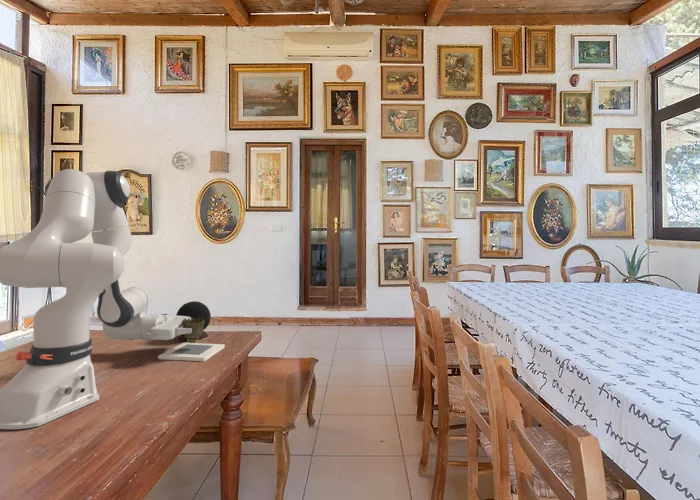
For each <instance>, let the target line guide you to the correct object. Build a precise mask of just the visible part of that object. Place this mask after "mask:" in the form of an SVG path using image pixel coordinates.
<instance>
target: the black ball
mask: <svg viewBox="0 0 700 500" xmlns="http://www.w3.org/2000/svg"><path fill="white" fill-rule="evenodd" d="M175 315H177V316H188V317H191V319H192V318H196V319H197V320H198V318H200V319H201V318H203V319H204V320H205V321H204V328H203V332H202V335H201V336H200V337H198V338H199V340H201V339H203V338H206V337H208V338H209V334H208V333H207V332H206V331H205V330H206V329H207V327H209V325H210V322H211V317H212V316H211V315H212V314H211V311H210V308H209V307H208V306H207V305H206V304H205V303H203V302H201V301H197V300H196V301H189V302H188V301H187V302H186V303H184V304H182V305H181V306H180V308H179V309H178V310H177V311H176V314H175ZM187 339H188V338H187V337H185V336H184V334H181V335H178V337H177V340H178V341H179V342H182V343H189V342H188V341H187ZM201 341H202V340H201Z"/></svg>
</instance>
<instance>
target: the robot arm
mask: <svg viewBox="0 0 700 500" xmlns="http://www.w3.org/2000/svg"><path fill="white" fill-rule="evenodd" d="M44 193H45V194H44V195H45V197H44V204H43V208H42V212H41V215H40V218H39V220H38V221H39V222H38V223H37V224H36V226H35V227H34V228H33V229H32V230H31V231H30V232H28V233H27V234H26V235H25V236H23V237H21V238H20V239H18V240H16V241H13V242H11V243H8V244H5V245H3V246H1V247H0V284H2V285H4V286H9V287H16V288H25V289H38V288H41V289H43V288H65V290H66V291H65V295H63V297H61V298H59V299H56V300H53V301H51V302H49V303H47V304H45V305H43V306H42V307H40V308H39V309H38V310H37V311H36V312H35V315H34V316H33V344H32V345H31V347H30V349H29V351H23V350H22V351H18V352H17V353H16V354H15V356H14V357H15V360H16V361H23V362H25V363H26V364H25V365H24V366H23V367H22V368H21V369H20V370H19V371H18V372H17V373H16V374H15V375H14V376H13V377H12V378H11V379H10V380H9V381H8V382H7V383H5V385H3V387H2V388H1V389H0V430H22V429H24V430H25V429H31V428H36V427H40V426H42V425H45V424H47V423H49V422H52V421H54V420H56V419H58V418H60V417H63V416H65V415H67V414H70V413H72V412H74V411H77V410H79V409H82V408H84V407H86V406H87V405H90V404H92V403H95V402H97V401H100V394H99V393H98V389H97V385H96V378H95V369H94V365H93V362H92V359H91V354H92V352H93V341H92V338H90V337H91V336H90V335H91V319H92V312H93V308H94V305H95V303H96V301H97V299H98V301H97V307H96V314H97V317H98V319H99V320H100V322H101V323H102V331H103V333H104V335H105V336H106V337H107V338H109V339H112V340H117V341H134V340H141V341H170V340H173V339H175V338H176V337H177V336H180V335H181V334H190V333H192V332H193V328H188V327H187V328H183V327H182V320H184V319H187V320H188V318H190V320H191V317H188V316H177V315H176V314H175V315H170V313H162V314H147V311H148V304H149V298H148V295H147V294H146V292H145V291H144V290H143V289H141V288H139V287H135V286H134V287H128V288H126V289H123V290H122V285H121V280H120V277H121V276H122V274H123V272H124V269H125V260H124V256H125V254H126V253H127V252H128V251H129V250H130V248H131V247H132V232H131V229H130V224H129V221H128V218H127V215H126V213H125V210H124V206H125V204H126V203H127V202H128V201H129V199H130V197H131V186H130V184H129V181H128V180H127V178H126V176H125V175H124V174H122V173H121V172H120V171H117V170H106V171H94V172H93V171H92V172H84V171H81V170H78V169H74V168H66V169H62V170H59V171H57V173H55V174H54V175H53V177H52V179H50V180H48V182H46V185H45V187H44ZM89 234H91V237H92V242H93V243H92V242H88V243H87V242H84V243H83V242H78V241H81V240H83V239H85V238H86V237H87V236H89Z"/></svg>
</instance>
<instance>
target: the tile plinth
mask: <svg viewBox="0 0 700 500" xmlns="http://www.w3.org/2000/svg"><path fill="white" fill-rule="evenodd" d="M225 345H226V344H221V343H219V344H218V343H201V342H199V343H197V342H195V343H189V342H182V343H180V344H178V345H176V346H175V347H172V348H170V349H168V350H166V351H165V352H162V353H161V354H159V355H158V357H157V359H158V360H165V361H166V360H168V361H169V360H171V361H172V360H173V361H187V362H188V361H190V362H205V361H207V360H209V359H210V358H211V357H213V356H214V355H216V354H217V353H219V352H221V351H222V350H223V349H225Z"/></svg>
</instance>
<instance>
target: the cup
mask: <svg viewBox="0 0 700 500" xmlns="http://www.w3.org/2000/svg"><path fill="white" fill-rule="evenodd" d="M204 321H205V320H204V319H203V318H201V319H200V318H198V320H197V319H196V318H192V319H191V320H190V318H188V320H187V319H184V320H182V327H183V328H187V327H188V328H193V332H192V333H190V334H184V336H185V337H187V338H188V339H187V341H188V342H187V343H197V342H199V341H198V340H199V338H198V337H200V336H201V335H202V332H203V331H204V330H203V328H204Z"/></svg>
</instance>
